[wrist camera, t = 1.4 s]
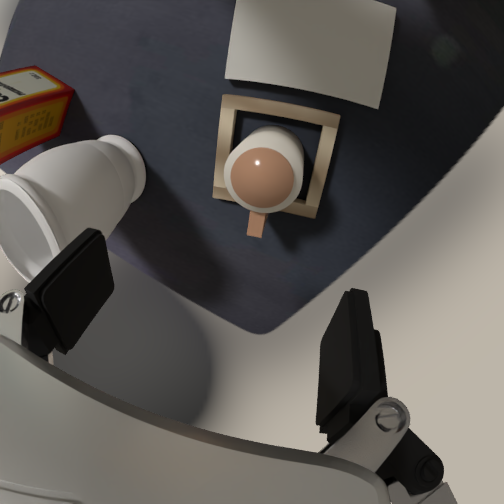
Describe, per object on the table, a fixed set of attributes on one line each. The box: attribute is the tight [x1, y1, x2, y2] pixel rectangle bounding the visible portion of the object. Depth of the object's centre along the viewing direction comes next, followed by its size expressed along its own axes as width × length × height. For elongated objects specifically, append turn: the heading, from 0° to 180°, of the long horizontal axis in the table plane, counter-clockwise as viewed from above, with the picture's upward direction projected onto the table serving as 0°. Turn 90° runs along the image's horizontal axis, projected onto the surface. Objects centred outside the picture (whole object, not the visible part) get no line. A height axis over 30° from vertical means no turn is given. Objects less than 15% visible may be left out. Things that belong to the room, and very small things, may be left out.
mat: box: [225, 0, 396, 109], centre depth 18 cm, size 10×13×1 cm
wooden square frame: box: [213, 94, 340, 219], centre depth 24 cm, size 10×10×1 cm
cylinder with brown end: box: [224, 125, 304, 238], centre depth 23 cm, size 8×6×7 cm
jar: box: [0, 135, 146, 283], centre depth 22 cm, size 11×10×15 cm
